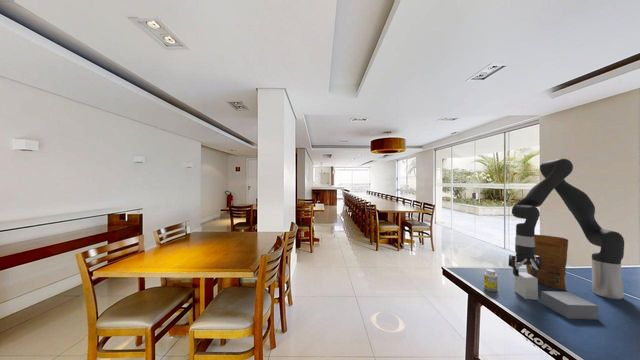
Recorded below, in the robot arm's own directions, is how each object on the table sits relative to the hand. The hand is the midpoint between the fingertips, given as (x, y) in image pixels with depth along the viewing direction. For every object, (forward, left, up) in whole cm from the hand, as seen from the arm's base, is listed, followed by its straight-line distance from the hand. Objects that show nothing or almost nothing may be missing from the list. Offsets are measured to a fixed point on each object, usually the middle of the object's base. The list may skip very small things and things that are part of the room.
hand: (524, 276), depth 113 cm
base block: (-7, +13, -10) cm, 18 cm away
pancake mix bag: (-22, -14, -10) cm, 28 cm away
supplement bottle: (+13, -6, -10) cm, 17 cm away
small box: (0, 0, -10) cm, 10 cm away
